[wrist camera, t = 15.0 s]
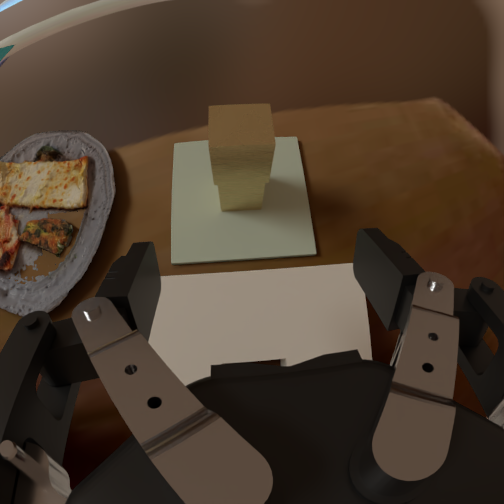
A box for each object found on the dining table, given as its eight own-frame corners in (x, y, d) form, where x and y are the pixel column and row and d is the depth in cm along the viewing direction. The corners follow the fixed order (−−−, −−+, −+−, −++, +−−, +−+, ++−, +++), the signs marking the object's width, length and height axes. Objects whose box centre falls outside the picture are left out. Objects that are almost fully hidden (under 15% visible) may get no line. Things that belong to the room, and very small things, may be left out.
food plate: (-44, 286, 27) (-60, 280, 24) (8, 141, 34) (-2, 129, 31) (88, 339, 28) (73, 337, 24) (143, 145, 35) (137, 127, 31)
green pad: (172, 264, 30) (171, 263, 29) (175, 146, 34) (174, 143, 33) (315, 255, 30) (316, 253, 30) (295, 139, 34) (296, 136, 34)
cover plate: (161, 479, 23) (151, 495, 19) (143, 286, 29) (130, 278, 25) (360, 461, 24) (375, 474, 21) (345, 272, 30) (360, 262, 26)
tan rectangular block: (218, 211, 31) (208, 147, 20) (217, 177, 32) (208, 106, 21) (264, 209, 31) (275, 144, 20) (261, 175, 32) (269, 103, 22)
